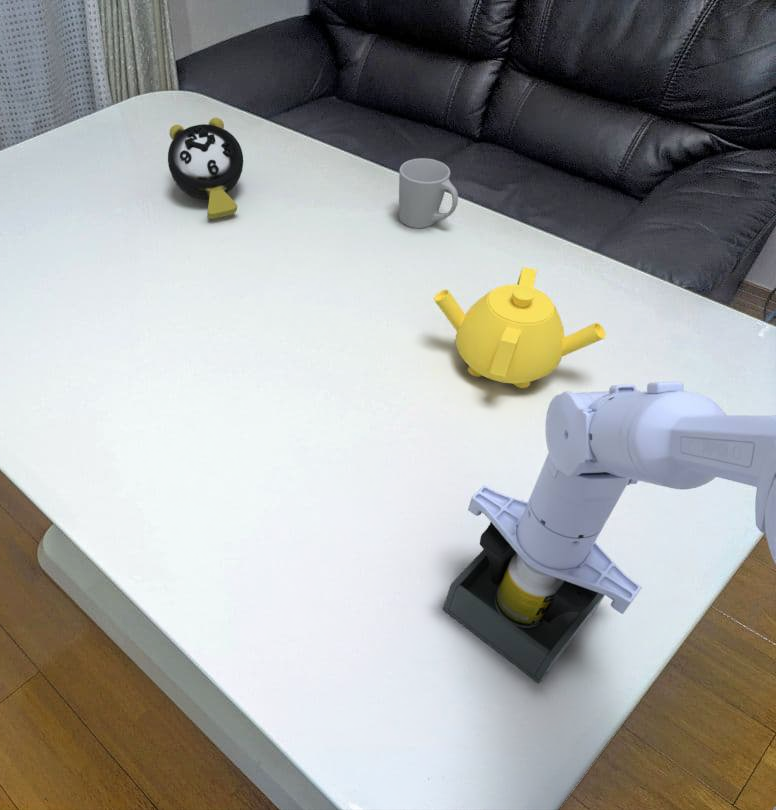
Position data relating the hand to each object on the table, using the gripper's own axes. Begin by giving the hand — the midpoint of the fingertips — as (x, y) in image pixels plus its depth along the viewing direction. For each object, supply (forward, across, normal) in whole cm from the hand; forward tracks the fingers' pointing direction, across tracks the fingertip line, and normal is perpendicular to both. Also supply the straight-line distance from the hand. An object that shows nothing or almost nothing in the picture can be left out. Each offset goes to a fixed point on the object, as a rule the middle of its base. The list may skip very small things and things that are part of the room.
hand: (525, 595), depth 68 cm
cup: (+3, +47, -49) cm, 68 cm away
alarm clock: (+3, +78, -31) cm, 84 cm away
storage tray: (+3, 0, 0) cm, 3 cm away
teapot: (+3, +20, -29) cm, 35 cm away
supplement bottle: (+2, 0, 0) cm, 2 cm away
